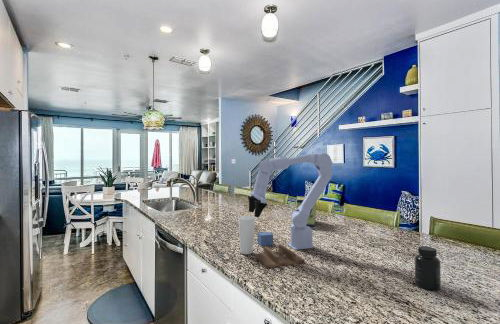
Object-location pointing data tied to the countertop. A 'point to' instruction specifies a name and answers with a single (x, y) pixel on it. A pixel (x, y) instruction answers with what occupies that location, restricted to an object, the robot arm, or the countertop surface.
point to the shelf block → (265, 239)
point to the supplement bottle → (427, 269)
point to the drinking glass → (246, 234)
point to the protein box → (312, 216)
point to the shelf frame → (278, 257)
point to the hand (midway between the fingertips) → (253, 214)
